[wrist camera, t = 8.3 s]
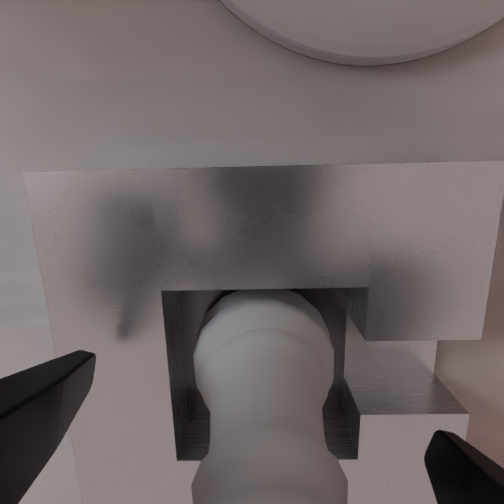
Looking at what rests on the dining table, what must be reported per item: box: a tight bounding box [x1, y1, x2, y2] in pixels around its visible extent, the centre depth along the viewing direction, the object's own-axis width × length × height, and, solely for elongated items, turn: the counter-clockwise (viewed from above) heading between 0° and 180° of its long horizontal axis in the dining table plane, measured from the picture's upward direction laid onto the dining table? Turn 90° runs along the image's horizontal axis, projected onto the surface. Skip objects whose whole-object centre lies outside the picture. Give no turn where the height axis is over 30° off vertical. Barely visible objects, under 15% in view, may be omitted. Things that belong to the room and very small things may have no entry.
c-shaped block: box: [23, 161, 504, 504], centre depth 11 cm, size 12×12×2 cm
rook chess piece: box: [191, 289, 348, 504], centre depth 7 cm, size 4×4×8 cm
